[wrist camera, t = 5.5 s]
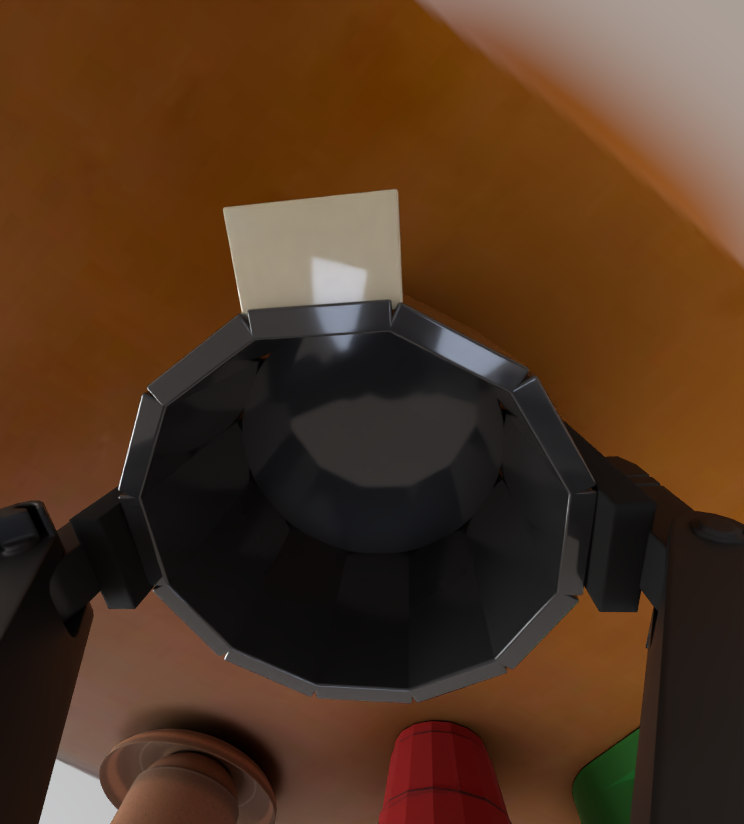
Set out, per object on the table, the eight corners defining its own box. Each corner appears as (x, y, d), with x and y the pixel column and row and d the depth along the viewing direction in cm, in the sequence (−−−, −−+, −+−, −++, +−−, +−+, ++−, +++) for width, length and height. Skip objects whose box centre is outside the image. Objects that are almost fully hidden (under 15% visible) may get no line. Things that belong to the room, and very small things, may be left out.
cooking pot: (507, 555, 15) (565, 714, 10) (261, 553, 17) (185, 691, 11) (529, 221, 11) (652, 157, 5) (197, 252, 12) (20, 225, 7)
